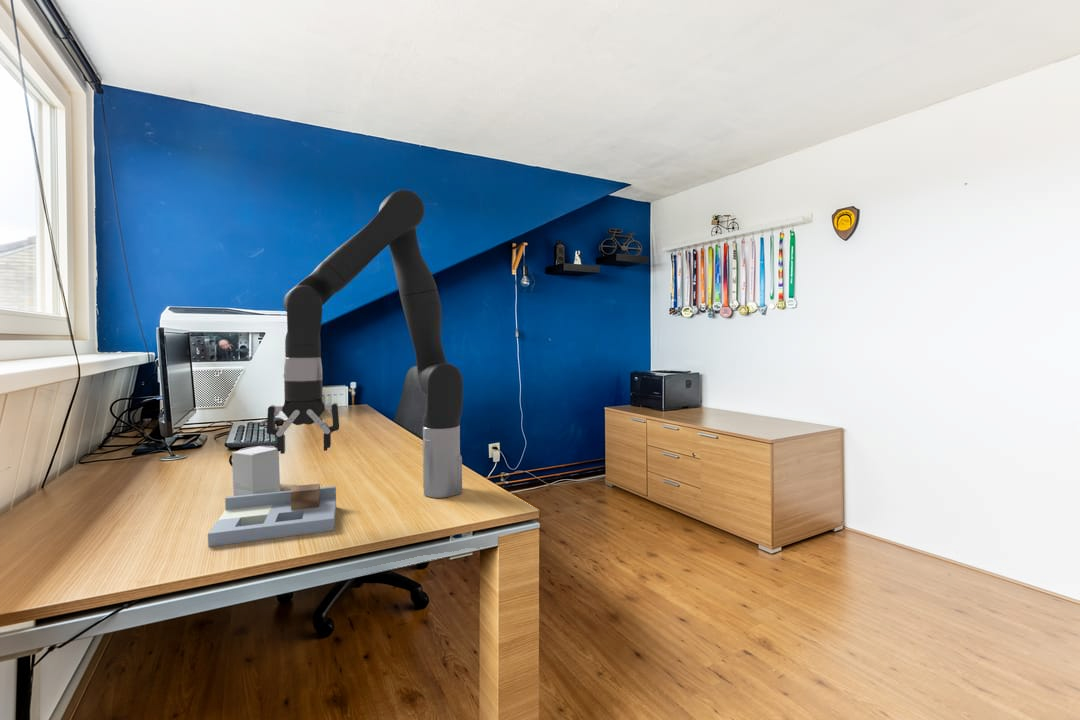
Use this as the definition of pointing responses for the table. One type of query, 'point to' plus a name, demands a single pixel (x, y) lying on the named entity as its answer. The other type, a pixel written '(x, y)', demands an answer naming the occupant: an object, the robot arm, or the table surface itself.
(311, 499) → the walnut block
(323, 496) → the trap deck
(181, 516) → the table surface
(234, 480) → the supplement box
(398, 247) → the robot arm
